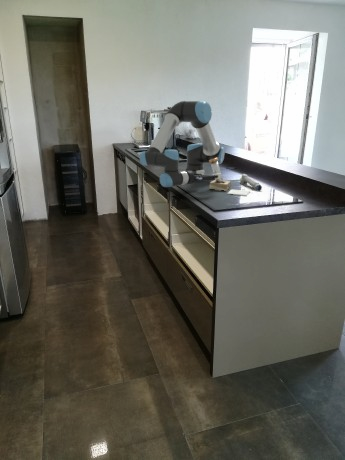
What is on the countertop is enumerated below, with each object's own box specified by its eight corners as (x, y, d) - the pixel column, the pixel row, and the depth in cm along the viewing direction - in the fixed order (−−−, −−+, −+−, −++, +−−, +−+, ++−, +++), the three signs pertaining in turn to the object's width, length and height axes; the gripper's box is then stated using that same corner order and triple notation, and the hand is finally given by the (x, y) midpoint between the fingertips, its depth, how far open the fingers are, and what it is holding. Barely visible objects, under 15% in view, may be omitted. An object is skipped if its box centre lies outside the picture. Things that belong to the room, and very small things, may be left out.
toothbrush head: (255, 184, 208) (239, 172, 230) (253, 195, 211) (238, 181, 233) (263, 184, 209) (246, 171, 231) (261, 195, 212) (245, 181, 234)
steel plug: (217, 187, 217) (209, 159, 213) (226, 185, 215) (218, 157, 211) (216, 189, 212) (207, 160, 208) (224, 187, 210) (216, 158, 206)
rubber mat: (231, 190, 209) (231, 189, 209) (249, 192, 206) (249, 191, 206) (227, 194, 200) (227, 193, 200) (246, 196, 196) (246, 195, 196)
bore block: (213, 186, 220) (214, 179, 219) (230, 187, 217) (230, 181, 215) (209, 189, 211) (209, 182, 210) (226, 191, 207) (227, 184, 206)
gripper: (170, 180, 203) (197, 176, 216) (199, 188, 185) (227, 183, 198) (171, 167, 201) (198, 164, 214) (200, 174, 183) (228, 170, 195)
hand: (212, 173), depth 206 cm, fingers open, 13 cm apart
